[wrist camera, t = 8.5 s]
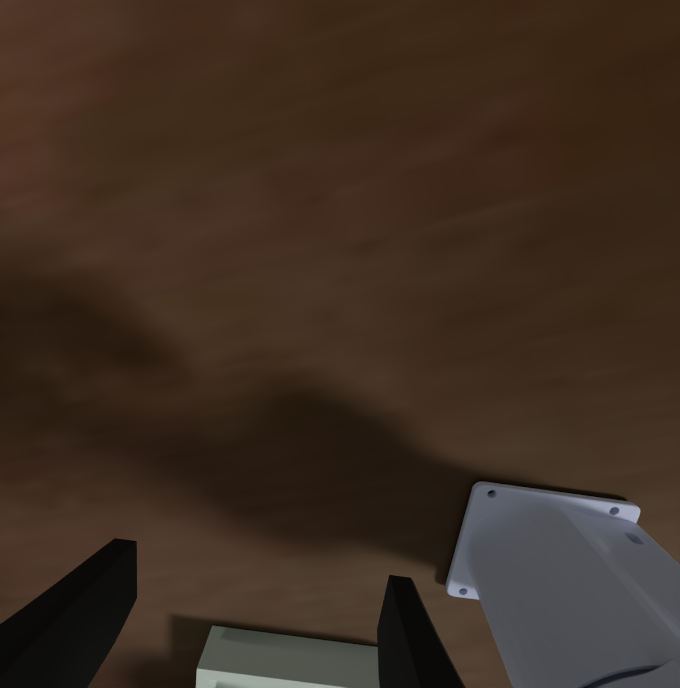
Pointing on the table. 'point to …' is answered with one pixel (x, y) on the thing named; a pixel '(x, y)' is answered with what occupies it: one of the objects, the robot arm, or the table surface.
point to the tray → (283, 662)
